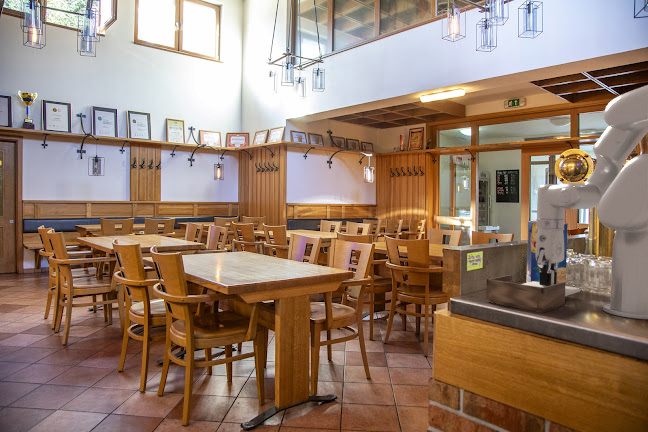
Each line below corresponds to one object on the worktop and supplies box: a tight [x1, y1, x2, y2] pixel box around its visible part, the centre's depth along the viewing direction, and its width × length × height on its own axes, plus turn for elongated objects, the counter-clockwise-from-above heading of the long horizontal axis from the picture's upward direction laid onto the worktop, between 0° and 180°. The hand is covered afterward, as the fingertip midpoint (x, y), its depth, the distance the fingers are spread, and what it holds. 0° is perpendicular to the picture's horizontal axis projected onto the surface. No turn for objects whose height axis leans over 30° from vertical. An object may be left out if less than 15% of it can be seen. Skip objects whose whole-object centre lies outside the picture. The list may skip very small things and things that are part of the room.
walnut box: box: [485, 274, 567, 313], centre depth 129 cm, size 16×14×6 cm
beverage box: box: [525, 221, 569, 286], centre depth 156 cm, size 7×11×22 cm, turn 77°
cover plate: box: [522, 270, 581, 297], centre depth 139 cm, size 14×12×6 cm
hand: (547, 284), depth 139 cm, fingers closed on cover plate, 3 cm apart
